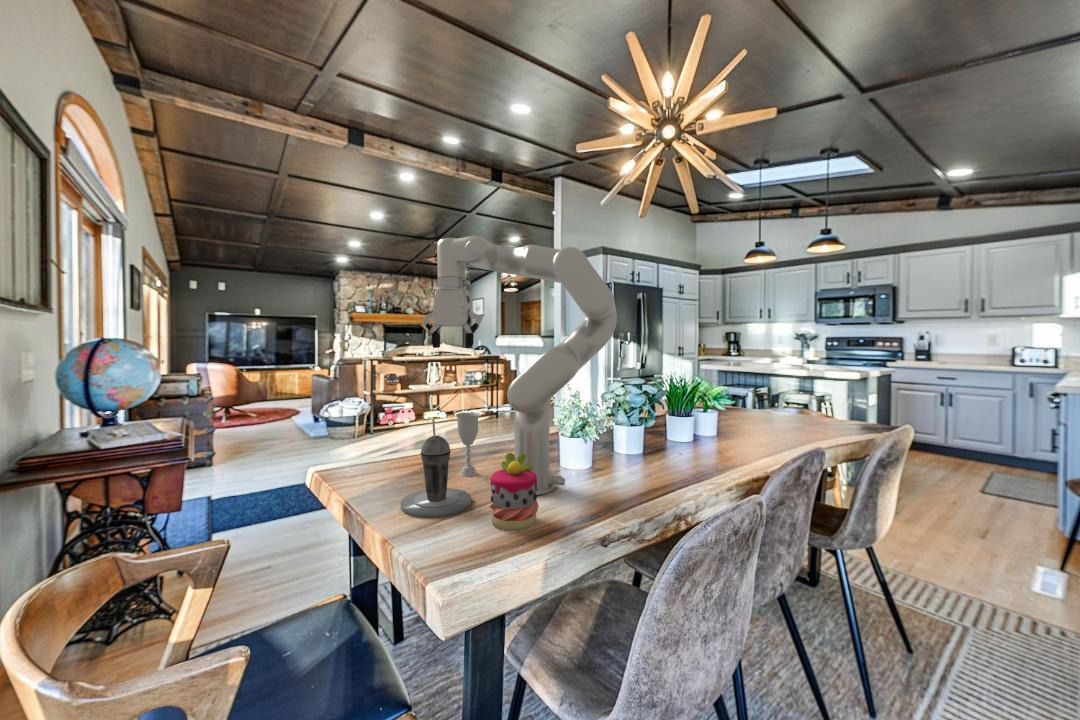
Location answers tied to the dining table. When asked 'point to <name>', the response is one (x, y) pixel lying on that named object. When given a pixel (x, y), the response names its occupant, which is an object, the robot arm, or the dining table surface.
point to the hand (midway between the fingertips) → (452, 347)
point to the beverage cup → (435, 466)
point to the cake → (514, 495)
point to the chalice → (468, 437)
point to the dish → (435, 504)
